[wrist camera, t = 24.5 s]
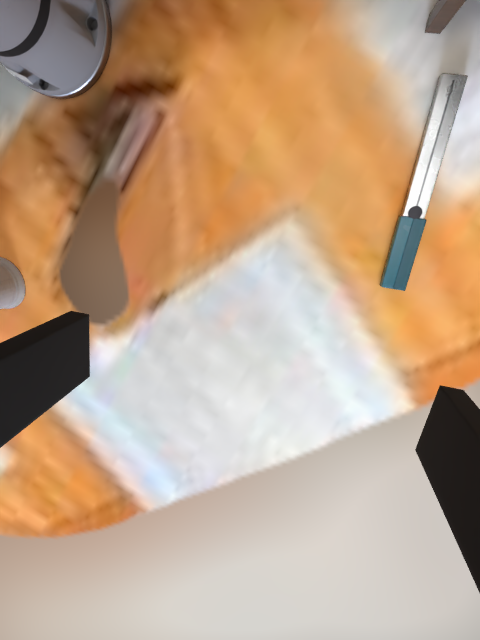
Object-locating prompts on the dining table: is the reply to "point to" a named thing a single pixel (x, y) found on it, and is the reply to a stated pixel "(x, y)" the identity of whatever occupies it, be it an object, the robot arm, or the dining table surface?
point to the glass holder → (10, 285)
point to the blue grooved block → (423, 181)
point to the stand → (442, 15)
